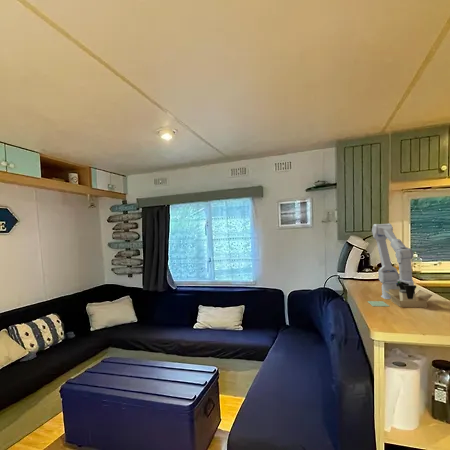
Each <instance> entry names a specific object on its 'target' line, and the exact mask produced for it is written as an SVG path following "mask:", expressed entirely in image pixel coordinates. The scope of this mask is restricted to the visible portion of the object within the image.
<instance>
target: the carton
mask: <svg viewBox="0 0 450 450" xmlns="http://www.w3.org/2000/svg"><path fill="white" fill-rule="evenodd" d="M399 290H400V289H389V292H387V291H386V292H387V293H388V294H389V295H390V296H391V299H390V302H391V303H393V304H394V305H396V306H398V307H399V308H428V303H427V302H428V301H429V300H430V298H431V297H433V294H432V293H428V292H426V291H423V290H421V289H418V291H417V292H415V298H416V301H400V294H399ZM384 291H385V290H384Z"/></svg>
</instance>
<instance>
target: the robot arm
mask: <svg viewBox="0 0 450 450" xmlns="http://www.w3.org/2000/svg"><path fill="white" fill-rule="evenodd" d="M371 227H372V228H371V234H372V236H373V239H375V241H376V247H377V251H378V255H379V259H380V263H381V267H380V268H379V269H377V270H378V275H377V276H378V280H379V281H380V283H382V284H381V295H380V297H381V298H382V299H384V300H391V296H390V295H389V294H388V293H387V292H389V289H397V285H396V283H397V284H398V285H399V287H400V290H406V294H407V298H408V299H413V295H414V291H415V292H416V289H417V285H415V282H414V279H413V270H412V259H413V257H414V252H413V251H412V249H411V248H409V247H407V246H406V245H405V244H404V242H403V241H402V240H401V239H399V238H397V236H396V235H395V233H394V228H393V225H392V224H391V223H380V224H379V223H374V224H373V225H372V226H371ZM386 240H388V241H389V243H390V247H391V248H392V250H393V251H394V252H395V258H396V263H397V264H398V270H397V268H396V267H394V266H393V265H392V261H391V258H390V254H389V250H388V245H387V241H386ZM398 281H400V283H398ZM384 290H385V291H384ZM386 291H387V292H386Z"/></svg>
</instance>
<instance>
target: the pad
mask: <svg viewBox="0 0 450 450" xmlns="http://www.w3.org/2000/svg"><path fill="white" fill-rule="evenodd" d="M367 303H368V304H370V305H371V306H372V307H391V306H390V305H389V304H387V303H386V302H385V301H383V300H382V301H381V300H378V301H377V300H374V301H373V300H368V301H367Z"/></svg>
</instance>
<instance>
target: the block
mask: <svg viewBox="0 0 450 450" xmlns="http://www.w3.org/2000/svg"><path fill="white" fill-rule="evenodd" d="M399 294H400V301H416V298H415V294H416V290H415V291H414V295H413V299H408V298H407V294H406V290H399Z"/></svg>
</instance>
